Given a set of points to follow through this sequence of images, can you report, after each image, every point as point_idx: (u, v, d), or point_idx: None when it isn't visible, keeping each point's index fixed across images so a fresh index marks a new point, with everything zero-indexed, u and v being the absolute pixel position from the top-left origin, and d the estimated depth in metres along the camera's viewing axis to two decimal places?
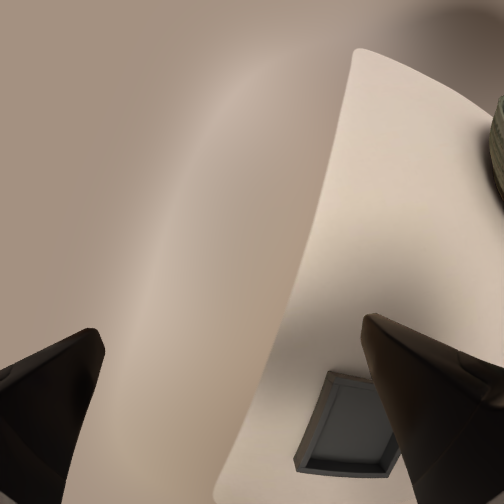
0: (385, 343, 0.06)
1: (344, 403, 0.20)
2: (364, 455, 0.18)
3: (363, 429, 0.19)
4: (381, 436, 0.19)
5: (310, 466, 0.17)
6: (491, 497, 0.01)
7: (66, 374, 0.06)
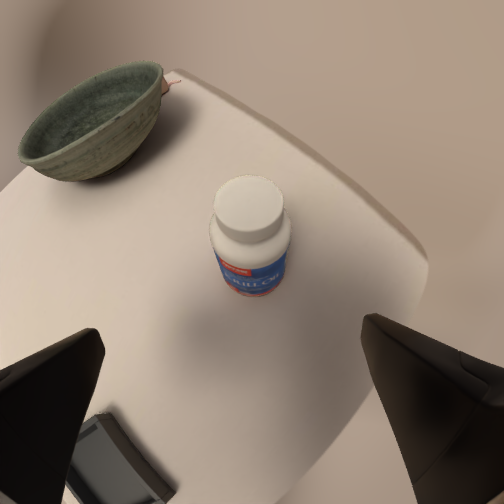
0: (385, 343, 0.06)
1: (82, 463, 0.15)
2: (143, 492, 0.14)
3: (113, 473, 0.15)
4: None
5: None
6: (491, 497, 0.01)
7: (66, 374, 0.06)
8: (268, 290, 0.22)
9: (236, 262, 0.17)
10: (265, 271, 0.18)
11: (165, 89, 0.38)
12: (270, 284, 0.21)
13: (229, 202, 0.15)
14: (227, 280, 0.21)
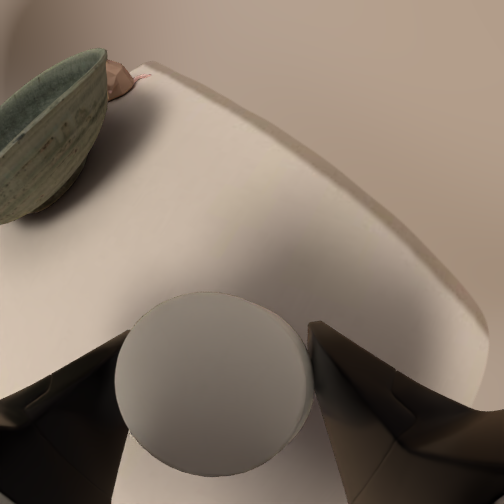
0: (320, 354, 0.06)
1: None
2: None
3: None
4: None
5: None
6: None
7: (112, 382, 0.06)
8: None
9: None
10: None
11: (129, 86, 0.28)
12: None
13: (150, 386, 0.05)
14: None
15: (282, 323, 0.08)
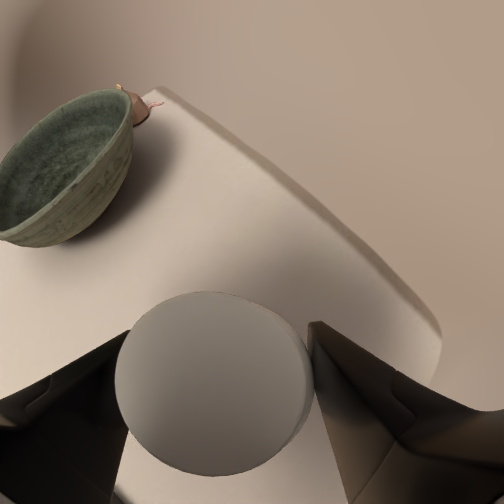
0: (320, 354, 0.06)
1: None
2: None
3: None
4: None
5: None
6: None
7: (113, 382, 0.06)
8: None
9: None
10: None
11: (144, 115, 0.34)
12: None
13: (151, 386, 0.05)
14: None
15: (282, 323, 0.08)
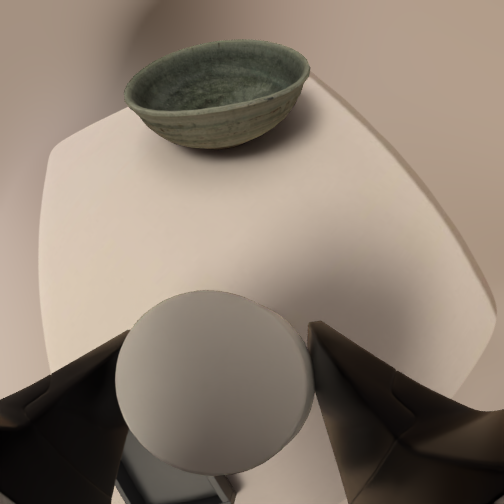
0: (320, 354, 0.06)
1: (133, 451, 0.17)
2: (200, 490, 0.15)
3: (171, 467, 0.16)
4: None
5: None
6: None
7: (113, 382, 0.06)
8: None
9: None
10: None
11: None
12: None
13: (151, 384, 0.05)
14: None
15: (282, 322, 0.08)
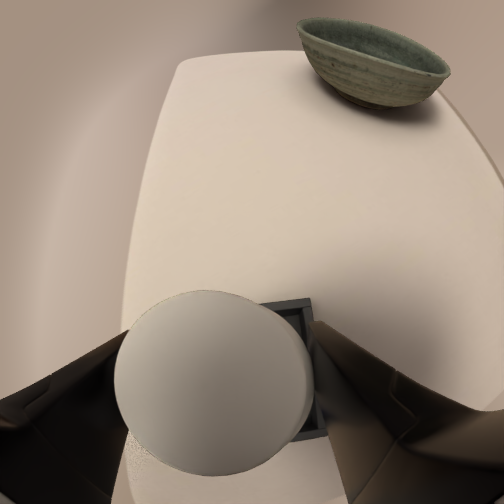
0: (320, 354, 0.06)
1: None
2: None
3: None
4: None
5: None
6: None
7: (113, 382, 0.06)
8: None
9: None
10: None
11: None
12: None
13: (150, 385, 0.05)
14: None
15: (282, 322, 0.08)
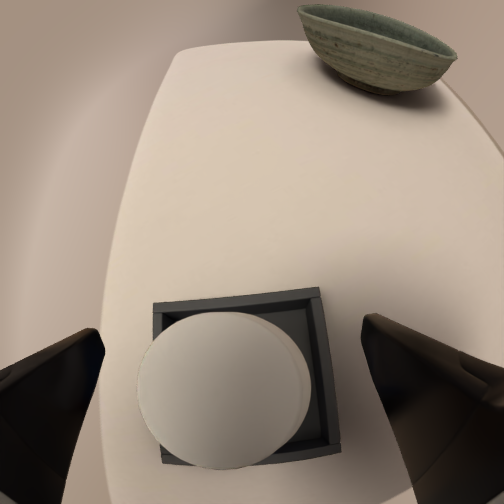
0: (385, 343, 0.06)
1: None
2: None
3: None
4: None
5: None
6: (491, 497, 0.01)
7: (66, 374, 0.06)
8: None
9: None
10: None
11: None
12: None
13: (169, 393, 0.05)
14: None
15: (282, 334, 0.08)
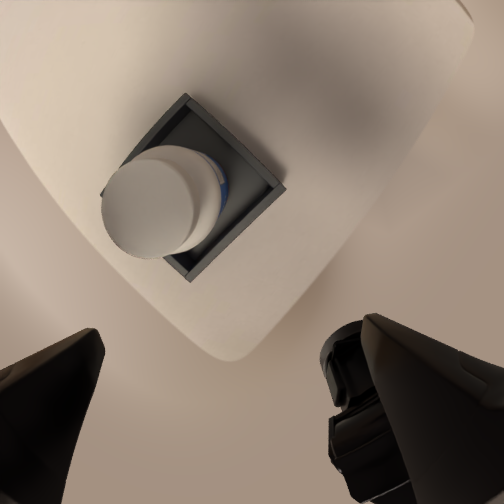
0: (385, 343, 0.06)
1: None
2: (241, 195, 0.19)
3: None
4: (228, 164, 0.18)
5: (195, 264, 0.19)
6: (491, 497, 0.01)
7: (66, 374, 0.06)
8: (225, 204, 0.18)
9: None
10: (216, 220, 0.14)
11: None
12: (225, 203, 0.17)
13: (128, 229, 0.10)
14: None
15: (164, 148, 0.11)
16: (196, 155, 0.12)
